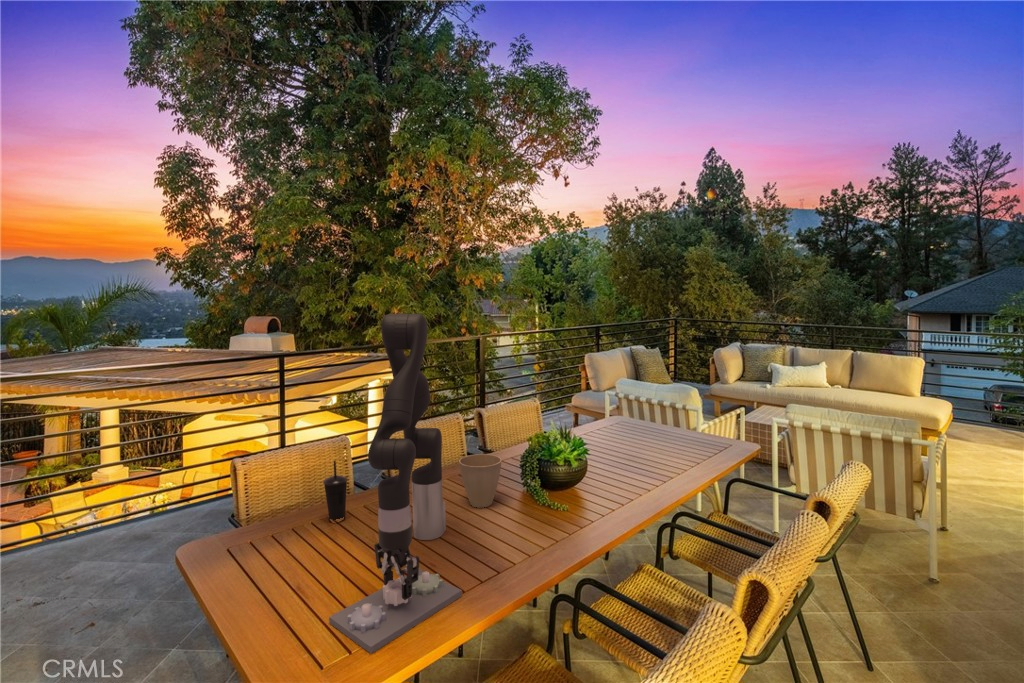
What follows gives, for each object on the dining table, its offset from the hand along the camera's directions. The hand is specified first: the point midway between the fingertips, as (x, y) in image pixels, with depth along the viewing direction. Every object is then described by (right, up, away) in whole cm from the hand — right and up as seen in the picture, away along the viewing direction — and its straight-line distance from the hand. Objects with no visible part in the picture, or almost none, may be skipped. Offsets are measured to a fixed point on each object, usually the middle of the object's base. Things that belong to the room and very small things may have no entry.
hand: (397, 592), depth 119 cm
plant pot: (+16, +1, +61) cm, 63 cm away
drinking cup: (-31, -1, +50) cm, 59 cm away
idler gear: (0, -1, 0) cm, 1 cm away
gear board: (0, -4, 0) cm, 4 cm away
